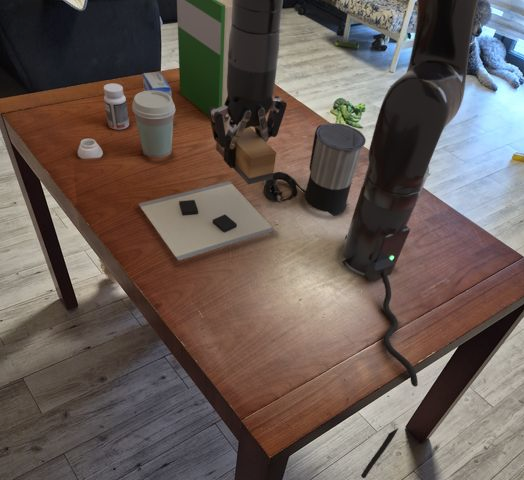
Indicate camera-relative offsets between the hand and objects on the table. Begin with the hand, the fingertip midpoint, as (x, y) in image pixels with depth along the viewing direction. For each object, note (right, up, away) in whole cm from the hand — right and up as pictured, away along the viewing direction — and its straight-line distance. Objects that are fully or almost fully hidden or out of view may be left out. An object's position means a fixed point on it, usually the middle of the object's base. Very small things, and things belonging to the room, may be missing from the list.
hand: (244, 161), depth 84 cm
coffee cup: (-20, +8, +18) cm, 28 cm away
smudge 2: (-4, -10, +4) cm, 12 cm away
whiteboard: (-8, -9, +5) cm, 13 cm away
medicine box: (-22, +22, +28) cm, 41 cm away
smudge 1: (-11, -7, +5) cm, 14 cm away
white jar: (-33, +7, +15) cm, 37 cm away
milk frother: (+12, -3, +13) cm, 18 cm away
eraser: (0, 0, 0) cm, 0 cm away
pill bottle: (-30, +18, +24) cm, 42 cm away
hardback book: (-10, +28, +35) cm, 46 cm away
